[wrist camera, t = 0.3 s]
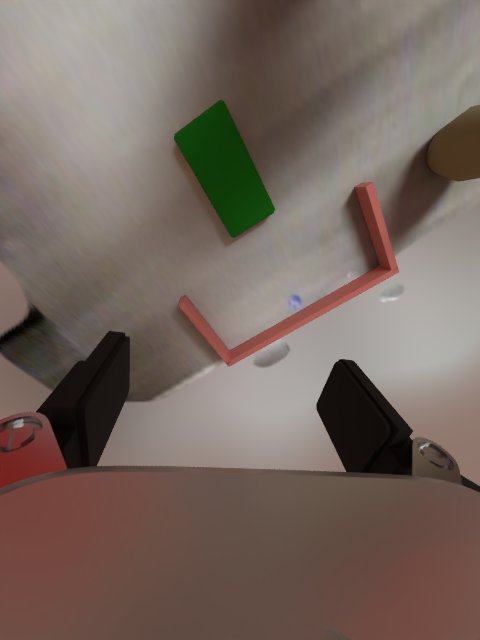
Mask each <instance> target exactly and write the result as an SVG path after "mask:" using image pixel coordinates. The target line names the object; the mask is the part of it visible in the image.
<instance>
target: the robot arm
mask: <svg viewBox="0 0 480 640" xmlns="http://www.w3.org/2000/svg"><path fill="white" fill-rule="evenodd" d="M129 373H130V338H129V337H126V336H125V333H122V332H114V331H109V332H108V333H107V334H106V335H105V337H104V338H103V339H102V340H101V342H100V343H99V344H98V345H97V347H96V348H95V349H94V351H93V352H92V353H91V354H90V356H89V357H88V358H87V359H86V361H78V362H77V363H76V364H75V365H74V367H73V368H72V369H71V370H70V371H69V373H68V374H67V375H66V376H65V377H64V379H63V380H62V381H61V382H60V383H59V385H58V386H57V387H56V388H55V390H54V391H53V392H52V393H51V394H50V396H49V397H48V398H47V399H46V401H45V402H44V403H43V404H42V405H41V406H40V408H39V409H38V410H37V411H36V412H26V413H19V414H15V415H11V416H9V417H6V418H4V419H2V420H0V640H480V486H478V485H477V484H475V483H473V482H472V481H470V480H468V479H467V478H465V477H463V476H462V475H460V470H459V467H458V464H457V462H456V461H455V459H454V458H453V457H452V456H451V455H450V454H449V453H448V452H447V451H446V450H445V449H443V448H442V447H441V446H440V445H438V444H436V443H434V442H433V441H431V440H428V439H426V438H422V437H417V438H415V439H413V441H412V439H411V438H410V437H409V436H410V435H411V433H412V432H413V430H412V429H411V428H410V427H409V426H408V424H407V423H406V422H405V421H404V420H403V418H402V417H401V416H400V415H399V414H398V413H397V411H396V410H395V409H394V408H393V407H392V405H391V404H390V403H389V402H388V401H387V400H386V398H385V397H384V396H383V395H382V394H381V392H380V391H379V390H378V389H377V388H376V387H375V385H374V384H373V383H372V382H371V381H370V379H369V378H368V377H367V376H366V375H365V374H364V372H363V371H362V370H361V369H360V368H359V366H357V364H356V363H355V362H354V361H352V360H345V359H340V360H339V361H338V362H336V363H335V364H334V366H333V368H332V371H331V373H330V375H329V377H328V380H327V382H326V384H325V386H324V388H323V391H322V393H321V395H320V398H319V400H318V402H317V411H318V413H319V416H320V418H321V420H322V422H323V424H324V426H325V428H326V430H327V432H328V434H329V436H330V439H331V441H332V443H333V445H334V447H335V449H336V451H337V453H338V455H339V457H340V459H341V462H342V464H343V466H344V468H345V470H346V472H329V471H328V472H327V471H303V470H302V471H301V470H275V469H244V468H211V467H176V466H97V464H98V462H99V459H100V457H101V455H102V453H103V450H104V448H105V446H106V443H107V441H108V439H109V437H110V434H111V432H112V429H113V428H114V425H115V423H116V421H117V418H118V416H119V414H120V411H121V409H122V407H123V405H124V402H125V400H126V398H127V395H128V392H129Z"/></svg>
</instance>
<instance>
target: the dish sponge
mask: <svg viewBox="0 0 480 640" xmlns="http://www.w3.org/2000/svg"><path fill="white" fill-rule="evenodd" d="M174 140H175V141H176V143H177V145H178V147H179V148H180V150H181V152H182V153H183V155H184V157H185V159H186V160H187V162H188V164H189V165H190V167H191V169H192V170H193V172H194V174H195V176H196V177H197V179H198V181H199V182H200V184H201V186H202V188H203V189H204V191H205V193H206V194H207V196H208V198H209V200H210V201H211V203H212V205H213V206H214V208H215V210H216V212H217V213H218V215H219V217H220V218H221V220H222V222H223V224H224V225H225V227H226V229H227V230H228V232H229V234H230V236H231V237H234V238H235V237H236V236H238V235H239V234H241V233H243V232H244V231H246V230H247V229H249V228H251V227H252V226H254V225H255V224H257V223H258V222H260V221H262V220H263V219H265V218H266V217H268V216H269V215H271V214H273V213H274V211H275V208H274V206H273V204H272V202H271V200H270V197H269V195H268V193H267V191H266V189H265V187H264V185H263V183H262V180H261V178H260V176H259V174H258V172H257V170H256V168H255V166H254V164H253V161H252V159H251V157H250V155H249V153H248V151H247V149H246V147H245V144H244V142H243V140H242V138H241V136H240V134H239V132H238V130H237V127H236V125H235V123H234V121H233V119H232V117H231V115H230V113H229V110H228V108H227V106H226V104H225V102H224V101H221V100H220V101H218V102H217V103H216V104H214V105H213V106H212V107H210V108H209V109H208V110H206V111H205V112H204V113H202V114H201V115H200V116H198V117H197V118H196V119H194V120H193V121H192V122H190V123H189V124H188V125H186V126H185V127H184V128H182V129H181V130H180V131H178V132H177V133H176V134H175V136H174Z"/></svg>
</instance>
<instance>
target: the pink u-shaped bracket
mask: <svg viewBox="0 0 480 640" xmlns="http://www.w3.org/2000/svg"><path fill="white" fill-rule="evenodd" d="M355 190H356V193H357V196H358V199H359V203H360V206H361V209H362V212H363V215H364V218H365V221H366V224H367V227H368V230H369V233H370V236H371V239H372V242H373V245H374V248H375V251H376V254H377V258H378V261H379V264H380V266H378V267H376V268H375V269H373V270H371V271H369V272H368V273H366V274H364V275H362V276H361V277H359V278H357V279H355V280H354V281H352V282H350V283H348V284H347V285H345V286H343V287H341V288H339V289H338V290H336V291H334V292H332V293H331V294H329V295H327V296H325V297H324V298H322V299H320V300H318V301H316V302H315V303H313V304H311V305H309V306H308V307H306V308H304V309H302V310H301V311H299V312H297V313H295V314H294V315H292V316H290V317H288V318H287V319H285V320H283V321H281V322H280V323H278V324H276V325H274V326H272V327H271V328H269V329H267V330H265V331H264V332H262V333H260V334H258V335H257V336H255V337H253V338H251V339H250V340H248V341H246V342H244V343H243V344H241V345H239V346H237V347H236V348H234V349H232V350H230V351H229V350H228V348H227V347H226V346H225V344H224V343H223V342H222V341H221V339H220V338H219V337H218V336H217V334H216V333H215V332H214V330H213V329H212V328H211V327H210V325H209V324H208V323H207V322H206V320H205V319H204V318H203V316H202V315H201V314H200V313H199V311H198V310H197V309H196V308H195V306H194V305H193V304H192V302H191V301H190V300H189V299H188V297H187V296H186V295H184V296H183V297H181V298H180V301H179V304H178V306H179V307H180V308H181V309H182V310H183V312H184V313H185V314H186V315H187V317H188V318H189V319H190V320H191V321H192V323H193V324H194V325H195V326H196V328H197V329H198V330H199V331H200V332H201V334H202V335H203V336H204V337H205V338H206V340H207V341H208V342H209V343H210V345H211V346H212V347H213V348H214V349H215V351H216V352H217V353H218V354H219V356H220V357H221V358H222V359H223V360H224V362H225V363H226V364H227V365H228V366H231V365H233V364H235V363H236V362H238V361H240V360H242V359H244V358H245V357H247V356H249V355H251V354H253V353H254V352H256V351H258V350H260V349H262V348H263V347H265V346H267V345H269V344H271V343H272V342H274V341H276V340H278V339H280V338H281V337H283V336H285V335H287V334H289V333H290V332H292V331H294V330H295V329H298V328H299V327H301V326H303V325H305V324H307V323H308V322H310V321H312V320H314V319H315V318H317V317H319V316H321V315H323V314H325V313H326V312H328V311H330V310H332V309H334V308H335V307H337V306H339V305H340V304H342V303H344V302H346V301H348V300H350V299H351V298H353V297H355V296H357V295H359V294H361V293H362V292H364V291H366V290H368V289H370V288H371V287H373V286H375V285H377V284H379V283H380V282H382V281H384V280H386V279H388V278H389V277H391V276H393V275H394V274H396V273H398V272H399V270H398V267H397V263H396V260H395V256H394V253H393V249H392V246H391V242H390V239H389V235H388V232H387V229H386V225H385V222H384V218H383V215H382V211H381V208H380V205H379V201H378V198H377V194H376V191H375V187H374V184H373V182H368V183H360V184H359V185H357V186H356V187H355Z"/></svg>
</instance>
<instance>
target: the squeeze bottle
mask: <svg viewBox="0 0 480 640" xmlns="http://www.w3.org/2000/svg"><path fill="white" fill-rule="evenodd" d="M427 162H428V166H429V168H430V169H431V170H432V171H433V172H434V173H436V174H438V175H440V176H443V177H445V178H447V179H450V180H454V181H465V180H470V179H476V178H480V105H477V106H473V107H470V108H469V109H468V110H466V111H465V112H464V113H462V114H461V115H459V116H458V117H457V118H455V119H454V120H453V121H451V122H450V123H449V124H447V125H446V126H445V127H444V128H442V129H441V130H440V131H438V133H437V134H436V135H435V137H434V138H433V139H432V141H431V144H430V146H429V148H428V153H427Z"/></svg>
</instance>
